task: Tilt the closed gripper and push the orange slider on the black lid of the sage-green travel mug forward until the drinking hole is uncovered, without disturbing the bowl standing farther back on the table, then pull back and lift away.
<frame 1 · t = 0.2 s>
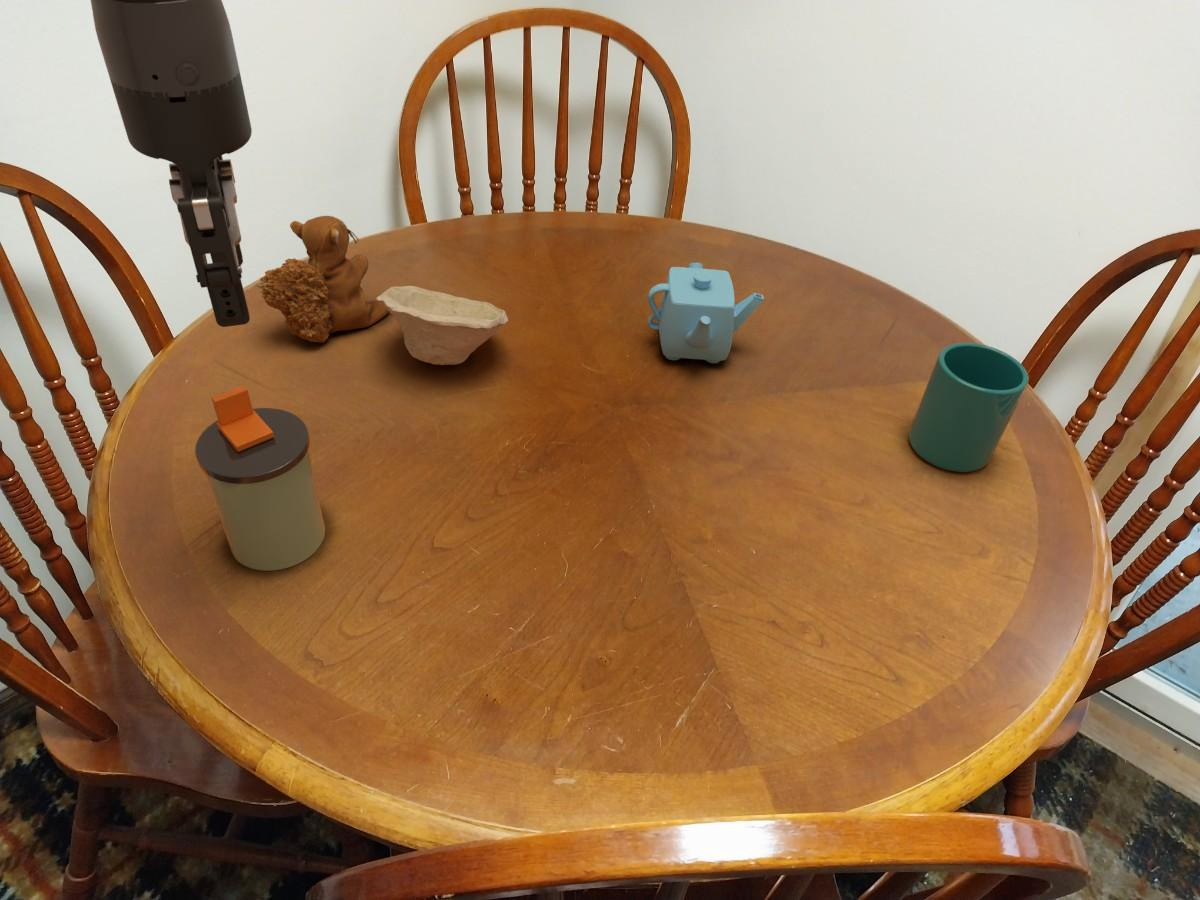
hand: (231, 293, 64), 25 cm above the table, tool pointing down, fingers open, 8 cm apart
bowl: (447, 356, 103), on the table
cup: (944, 440, 97), on the table
travel mug: (278, 536, 79), on the table
slider: (241, 417, 71), point 13 cm above the table, slide at 0.0 cm
teapot: (697, 348, 107), on the table
stuffed squirrel: (329, 325, 106), on the table
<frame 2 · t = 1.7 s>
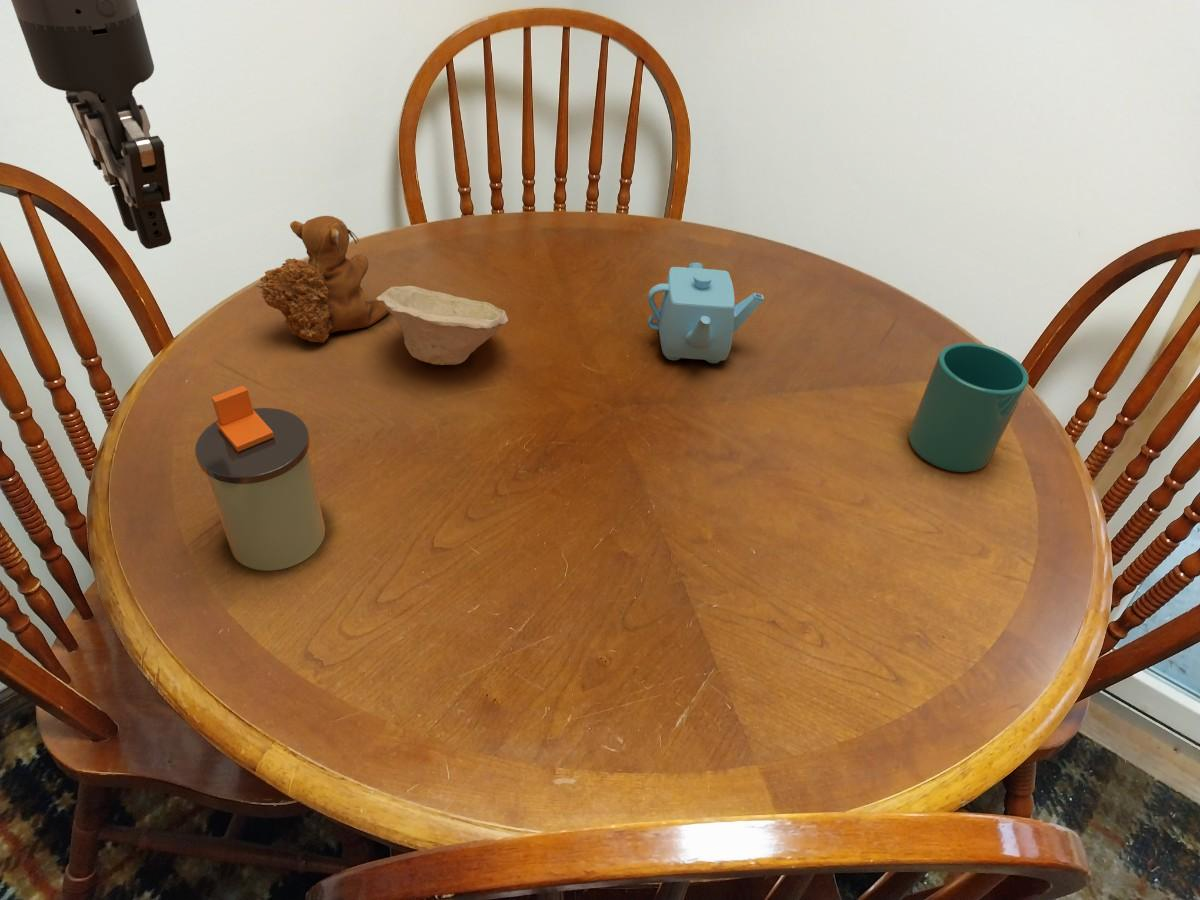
hand: (148, 235, 69), 25 cm above the table, tool pointing down, fingers open, 3 cm apart
nothing on the table moved.
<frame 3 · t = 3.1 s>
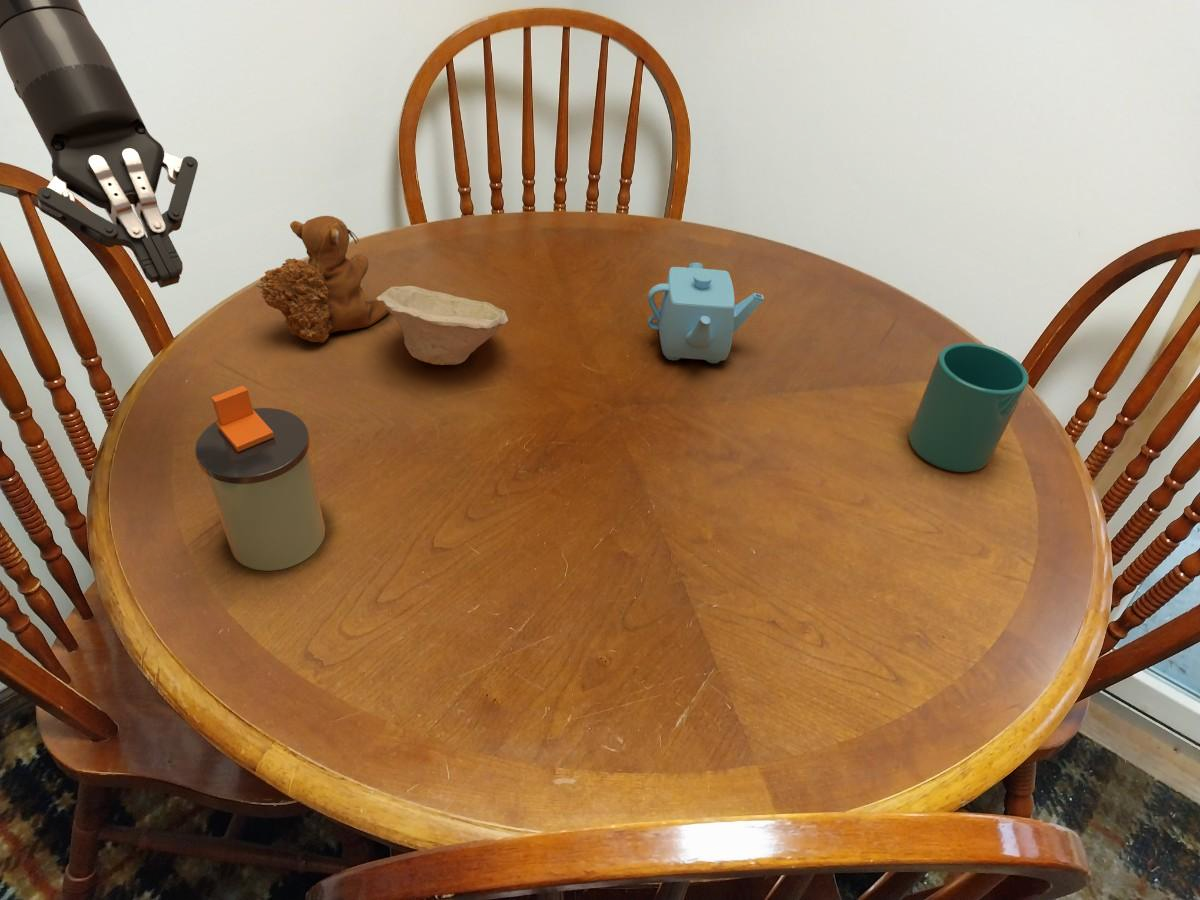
hand: (170, 282, 70), 22 cm above the table, tool tilted 45°, fingers closed
nothing on the table moved.
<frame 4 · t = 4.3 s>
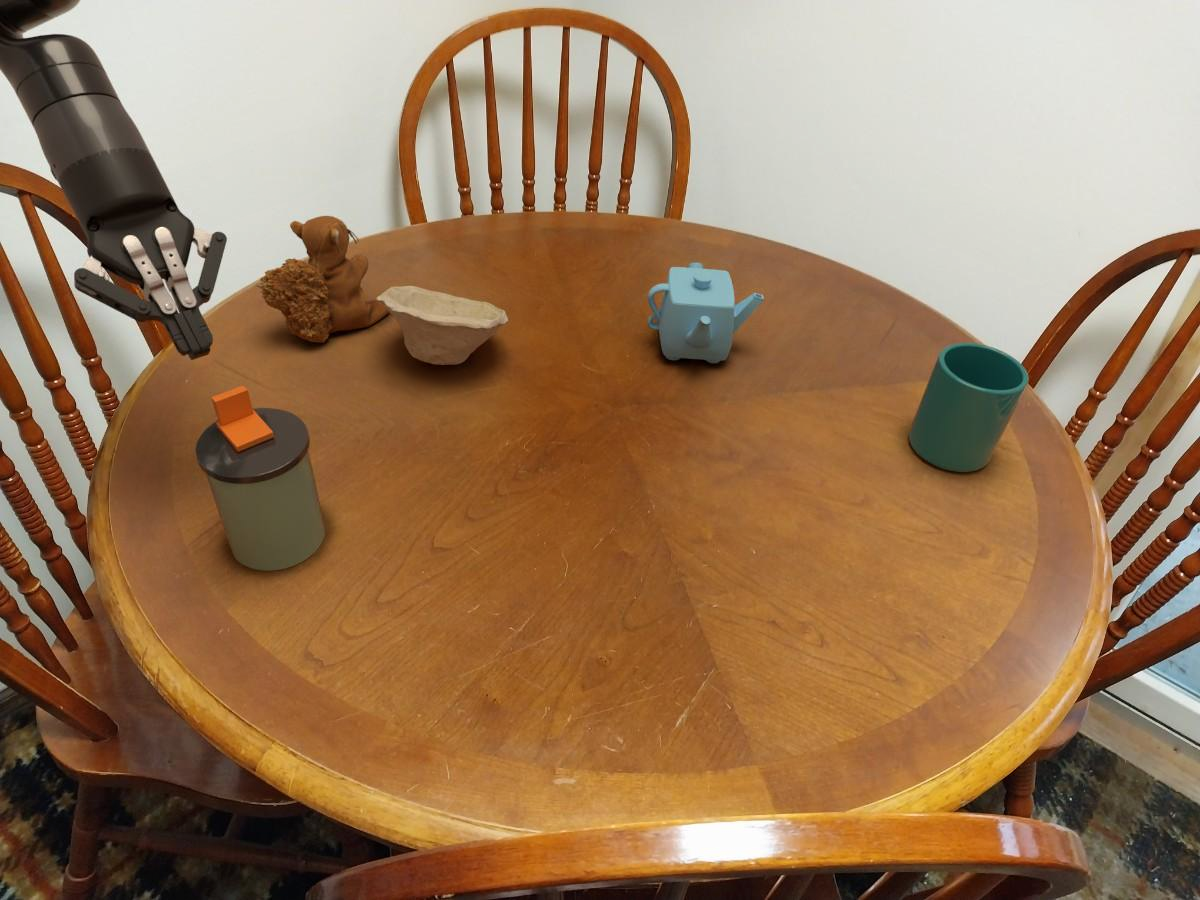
hand: (201, 354, 73), 16 cm above the table, tool tilted 45°, fingers closed
nothing on the table moved.
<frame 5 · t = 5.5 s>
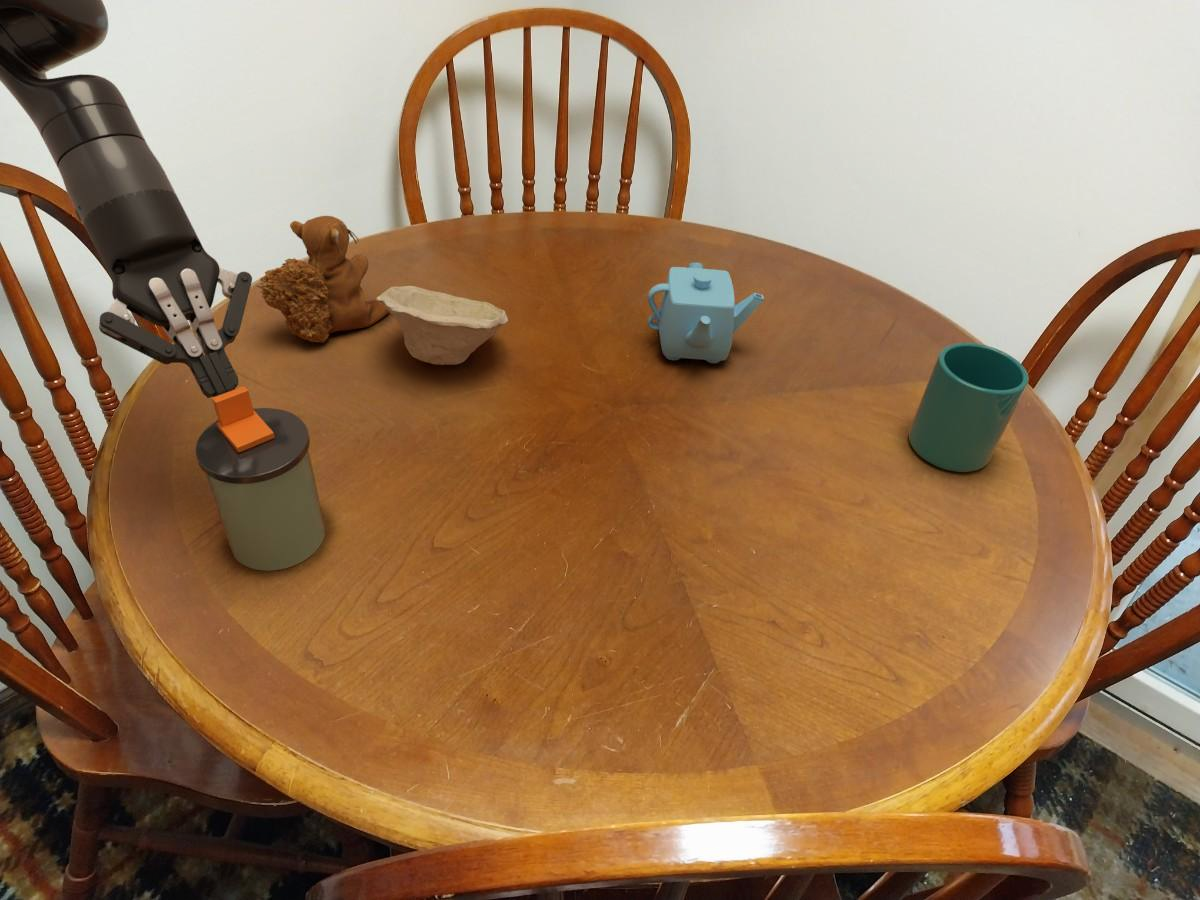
hand: (226, 397, 72), 14 cm above the table, tool tilted 45°, fingers closed
slider: (242, 418, 71), point 13 cm above the table, slide at 0.1 cm, touching gripper
everything else where it was.
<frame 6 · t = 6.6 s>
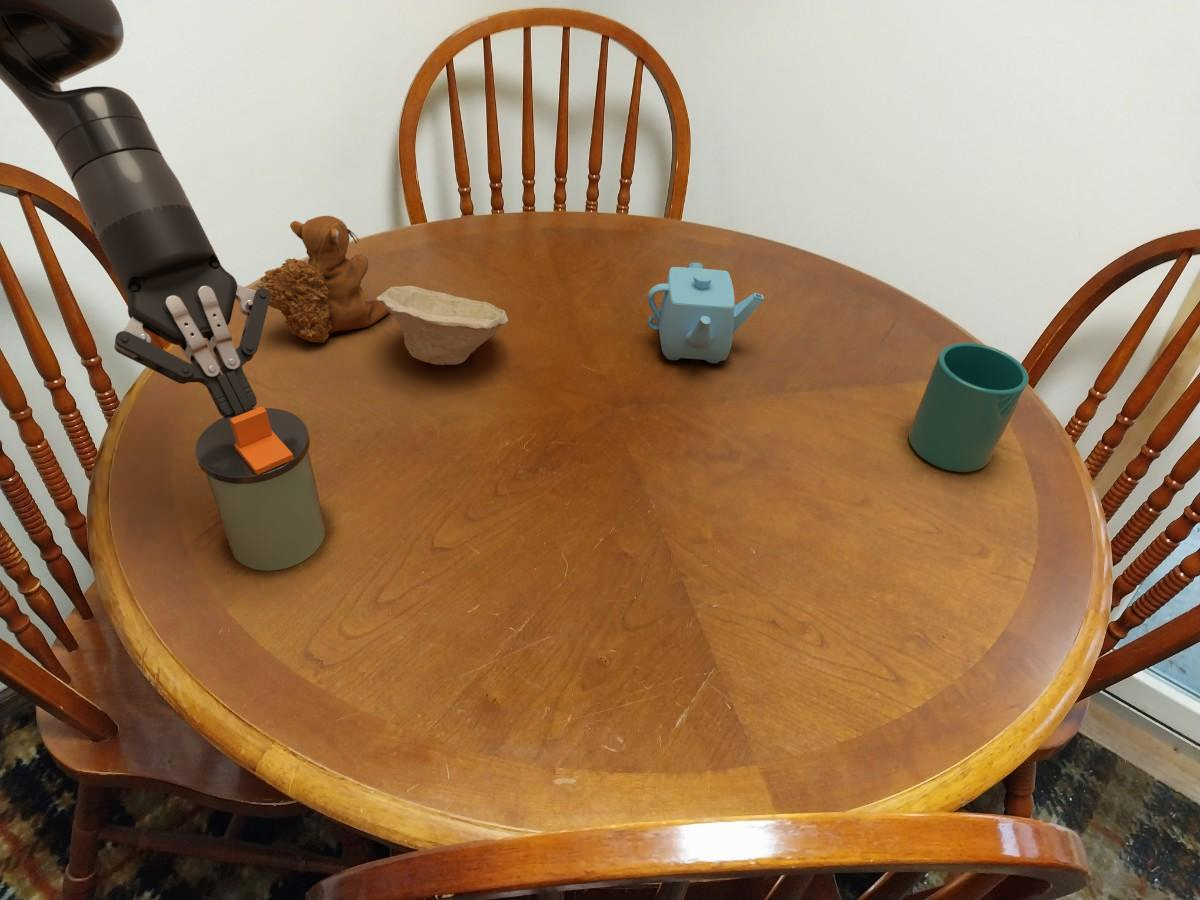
hand: (244, 417, 70), 14 cm above the table, tool tilted 45°, fingers closed
slider: (260, 439, 69), point 13 cm above the table, slide at 3.5 cm, touching gripper
everything else where it was.
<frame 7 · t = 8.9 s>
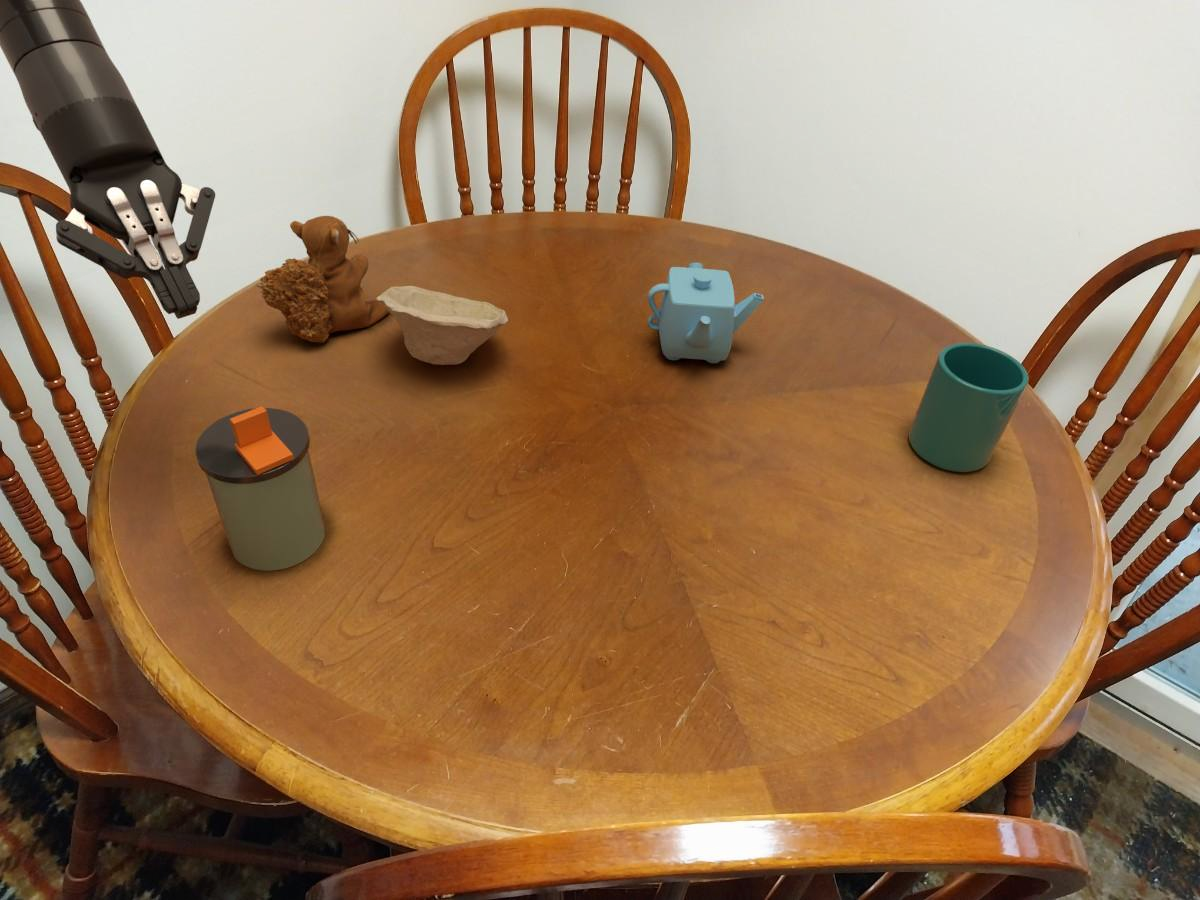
hand: (188, 313, 70), 20 cm above the table, tool tilted 45°, fingers closed
slider: (261, 439, 69), point 13 cm above the table, slide at 3.5 cm
everything else where it was.
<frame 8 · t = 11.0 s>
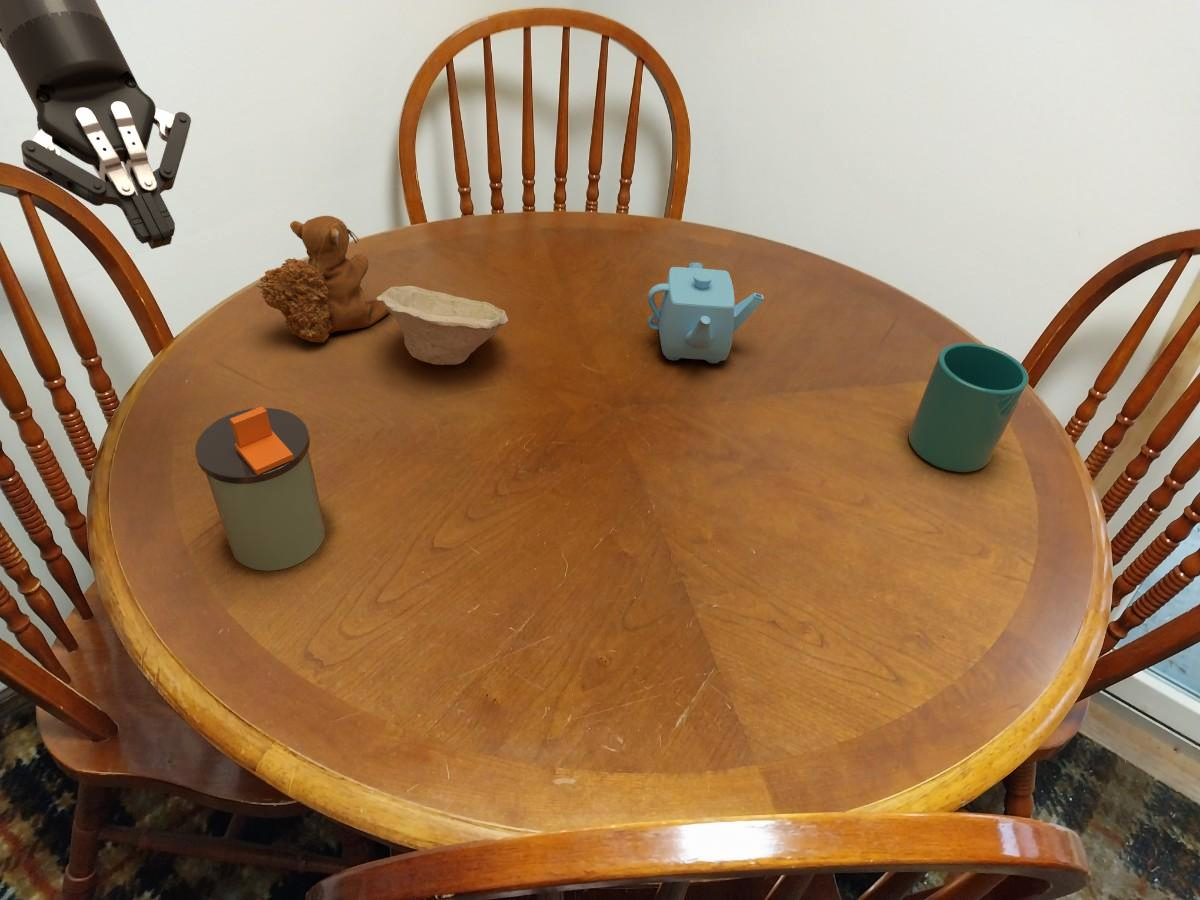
hand: (162, 242, 67), 26 cm above the table, tool tilted 45°, fingers closed
nothing on the table moved.
at the end: slider slide at 3.5 cm; bowl moved 0.2 cm from its start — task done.
